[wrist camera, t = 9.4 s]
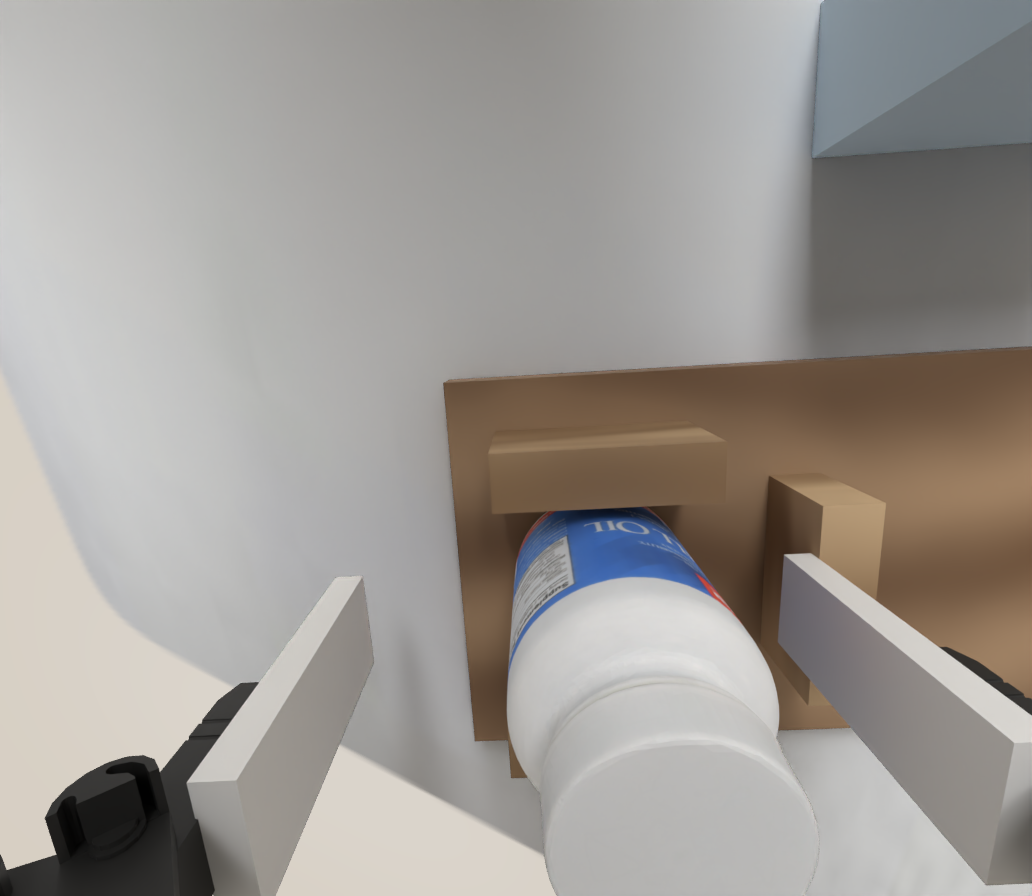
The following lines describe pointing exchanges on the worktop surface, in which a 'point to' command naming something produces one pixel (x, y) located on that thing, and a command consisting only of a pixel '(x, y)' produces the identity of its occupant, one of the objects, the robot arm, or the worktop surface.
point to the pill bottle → (647, 719)
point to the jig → (766, 494)
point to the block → (922, 75)
